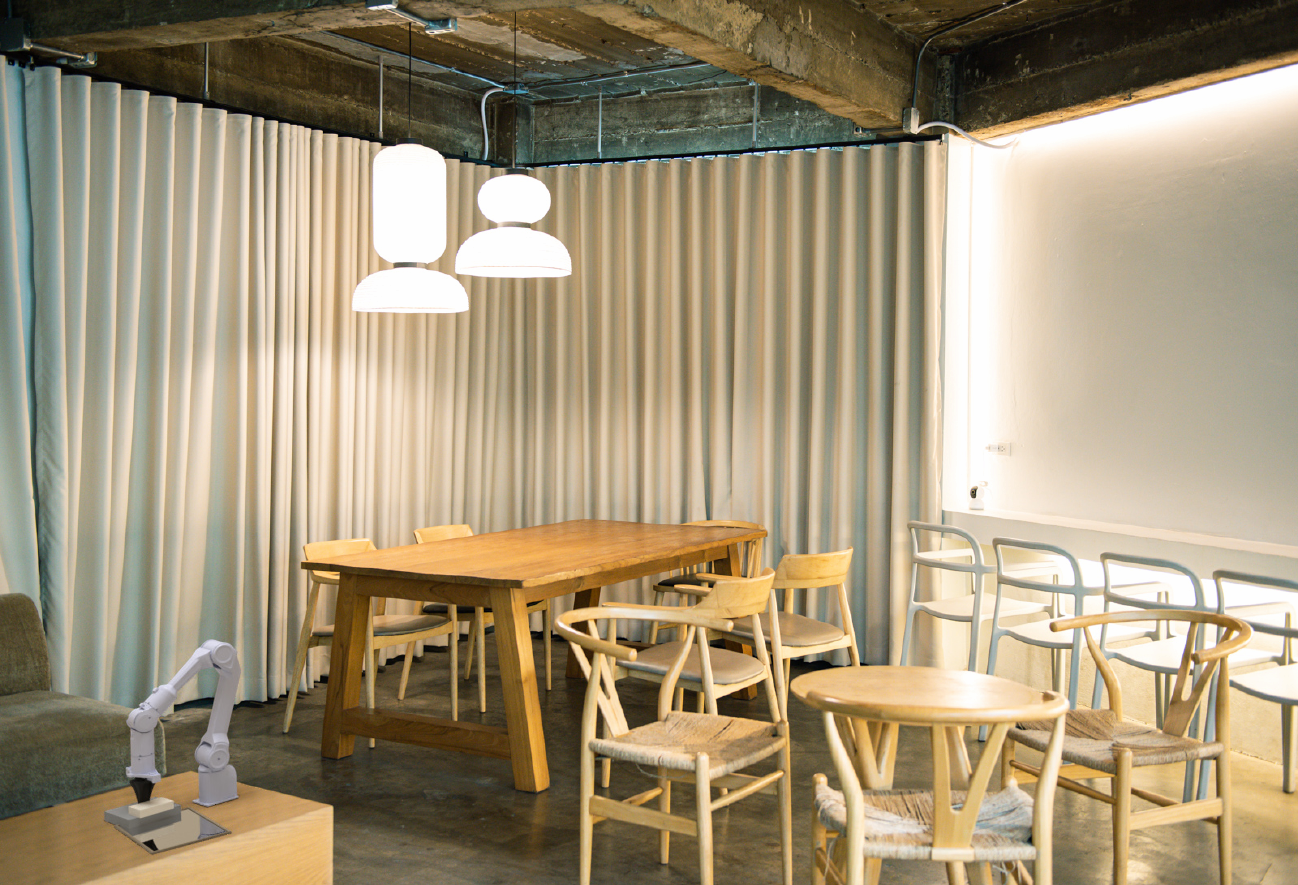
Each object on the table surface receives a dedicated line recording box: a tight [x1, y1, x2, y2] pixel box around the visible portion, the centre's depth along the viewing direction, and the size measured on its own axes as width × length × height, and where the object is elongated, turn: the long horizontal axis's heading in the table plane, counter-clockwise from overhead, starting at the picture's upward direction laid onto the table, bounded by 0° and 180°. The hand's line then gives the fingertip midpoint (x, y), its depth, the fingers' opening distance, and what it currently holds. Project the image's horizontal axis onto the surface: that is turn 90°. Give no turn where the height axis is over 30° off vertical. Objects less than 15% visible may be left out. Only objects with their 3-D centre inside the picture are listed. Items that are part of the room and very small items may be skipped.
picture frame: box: [113, 806, 233, 855], centre depth 271 cm, size 19×1×28 cm
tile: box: [129, 796, 175, 818], centre depth 279 cm, size 9×6×2 cm, turn 143°
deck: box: [103, 796, 182, 829], centre depth 282 cm, size 14×13×2 cm
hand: (143, 805), depth 282 cm, fingers closed
